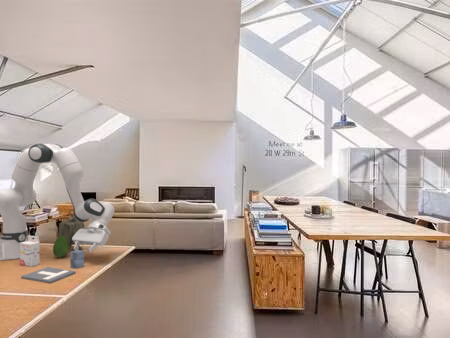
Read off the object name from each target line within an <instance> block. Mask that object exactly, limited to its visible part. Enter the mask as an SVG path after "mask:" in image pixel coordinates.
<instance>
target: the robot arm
mask: <svg viewBox="0 0 450 338" xmlns="http://www.w3.org/2000/svg"><path fill="white" fill-rule="evenodd" d="M52 163H55V165H56V166H57V168H58V170H59V172H60V174H61V176H62V178H63V182H64V184H65V188H66V190H67V191H66V192H67V193H68V197H69V198H70V201H71V205H72V207H73V211H72V212H73V215H74V216H73V217H75V218H76V220H78V221H81V222H84V223H85V222H88V221H89V223H88V225H87V226H84V227H83V228H81V229H79V230H78V231H77V232H76V233H75V235H74V236H73V237H72V240H73V241H74V242H75V244H74V247H73V251H76V250H79V247H78V245H79V246H80V245H81V244H82V245H91V246H90V247H88V249H87V252H89V253H92V252H93V251H94V250H95V249H96V248H97V247H98V246H99V247H100V246H101V247H102V246H105V245H106V243H107V241H108V240H109V236H111V231H110V229H109V228H108V227H107V225H108V224H109V223H110V222H111V220H112V218H113V215H114V214H115V207H114V205H113V204H111V202H107V201H104V202H103V201H99V200H97V199H95V198H88V199H86V200H85V199H84V197H83V195H82V193H81V192H82V191H81V189H80V185H81V183H82V179H83V177H84V170H83V166H82V165H81V163H80V160H79V158H78V157H77V156H76V154H75V153H74V151H73V150H72V149H71V148H68V147H63V146H62V145H60V144H56V143H55V144H54V143H35V144H32V145H31V146H30V147H29V148H26V149H24V150H23V151H22V153H21V154H20V155H19V158H18V159H17V162H16V163H15V166H14V169H13V171H12V174H11V179H12V181H13V182H14V187H13V188H3V189H0V216H1V220H2V232H0V261H5V260H7V261H8V260H17V259H20V243H21V242H26V241H28V230H27V218H26V215H24V214H22V213H21V211H20V208H21V207H27V206H29V205H32V204H34V203H35V201H36V200H37V193H36V191H35V190H34V182H35V180H36V177H37V174H38V171H39V168H40V166H41V164H52ZM90 219H91V220H90Z"/></svg>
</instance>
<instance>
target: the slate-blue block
mask: <svg viewBox="0 0 450 338" xmlns="http://www.w3.org/2000/svg"><path fill="white" fill-rule="evenodd" d="M69 257H70V263H69V265H70V268H71V269H80V268H83V267H84V266H85V250H82V249H81V250H79V249H78V250H73V251H70V256H69Z"/></svg>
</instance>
